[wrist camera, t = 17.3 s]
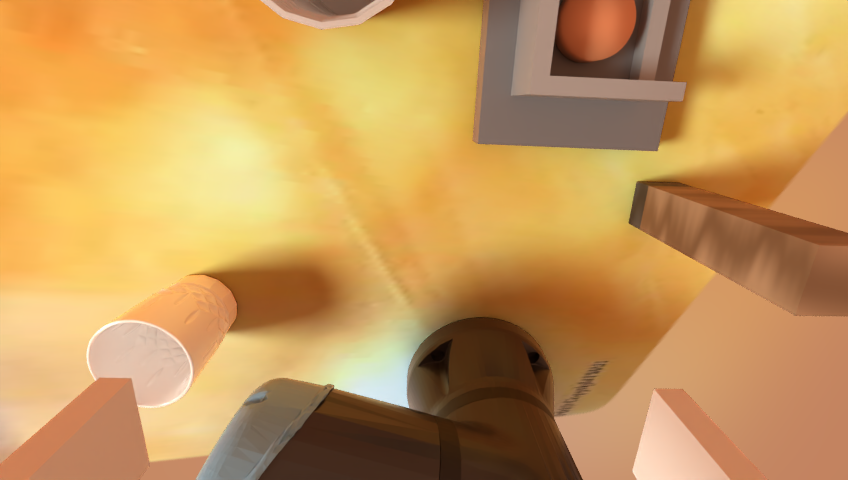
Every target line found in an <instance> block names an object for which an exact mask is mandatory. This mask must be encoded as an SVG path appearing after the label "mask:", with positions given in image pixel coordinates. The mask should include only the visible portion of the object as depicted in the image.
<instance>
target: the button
mask: <svg viewBox="0 0 848 480" xmlns="http://www.w3.org/2000/svg"><path fill="white" fill-rule="evenodd" d="M635 22H636V6H635V1H634V0H563V2H562V3H561V5H560V6H559V8H558V16H557V24H556V32H555V42H556V45H557V47H558V49H559V50H560V52H561V53H562V54H563V55H564V56H565V57H567V58H568V59H570V60H572V61H574V62H578V63H589V62H594V61H598V60H602V59H606V58H608V57H611V56H612V55H614V54H616V53H617V52H618V51H619V50H621V49H622V48H623V47H624V45H625V44H626V43H627V41H628V40H629V38H630V36H631V34H632V32H633V30H634V26H635Z"/></svg>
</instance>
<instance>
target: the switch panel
mask: <svg viewBox="0 0 848 480" xmlns="http://www.w3.org/2000/svg"><path fill="white" fill-rule="evenodd" d="M634 1H635V6H636V22H635V26H634V30H633V32H632V34H631V36H630V38H629V40H628V41H627V43H626V44H625V45H624V47H623V48H622V49H621V50H619V51H618V52H617V53H616V54H614V55H612V56H611V57H608V58H606V59H602V60H598V61H594V62H589V63H578V62H574V61H572V60H570V59H568V58H567V57H565V56H564V55H563V54H562V53H561V52H560V50H559V49H558V47H557V45H556V42H555V32H556V24H557V16H558V8H559V6H560V5H561V3H562V2H563V0H484V3H483V16H482V29H481V42H480V54H479V67H478V80H477V93H476V106H475V118H474V131H473V141H474V142H476V143H478V144H497V145H521V146H545V147H569V148H593V149H617V150H641V151H658V147H659V142H660V137H661V133H662V128H663V124H664V119H665V114H666V110H667V105H668V102H669V101H683V97H684V93H685V88H686V84H687V82H673V78H674V73H675V68H676V64H677V59H678V55H679V50H680V45H681V41H682V36H683V32H684V27H685V22H686V18H687V13H688V9H689V4H690V0H634Z"/></svg>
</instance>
